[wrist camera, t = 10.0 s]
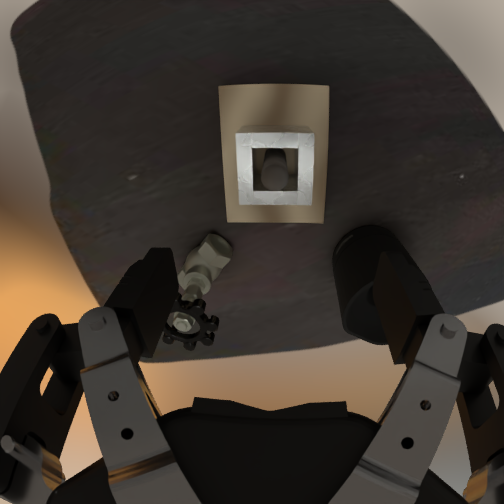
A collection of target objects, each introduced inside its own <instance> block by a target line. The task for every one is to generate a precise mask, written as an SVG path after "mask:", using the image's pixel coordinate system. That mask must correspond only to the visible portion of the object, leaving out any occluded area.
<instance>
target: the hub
mask: <svg viewBox="0 0 504 504" xmlns="http://www.w3.org/2000/svg"><path fill="white" fill-rule="evenodd" d="M256 148H295V159H294V174H288V175H289V180H288V183H287V185H286V186H285V187H284V188H283V189H282V190H279V191H271V190H269V189H267V188H266V187H265V186H264V185H263V183H262V181H261V174H257V160H256ZM236 154H237V173H238V192H239V205H312V191H313V167H314V133H313V131H312V130H311V129H310V128H309V127H308V126H297V125H250V126H242V127H241V128H240V129H239V130H238V131H237V132H236Z"/></svg>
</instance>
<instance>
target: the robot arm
mask: <svg viewBox="0 0 504 504" xmlns="http://www.w3.org/2000/svg"><path fill="white" fill-rule="evenodd" d="M178 289H179V283H178V277H177V272H176V267H175V262H174V257H173V252H172V250H171V248H151V249H150V250H149V251H148V253H147V254H146V256H145V257H144V259H143V260H138V261H137V262H136V263H134V264H133V265H132V266H130V267H129V269H128V270H127V272H126V273H125V274H124V277H122V279H121V280H120V282H119V284H118V285H117V286H116V288H115V289H114V291H113V292H112V294H111V295H110V297H109V298H108V300H107V302H106V303H105V305H104V306H103V307H97V308H93V309H91V310H89V311H88V312H86V313H85V314H84V315H83V316H82V317H81V319H80V320H79V323H72V324H65V325H62V324H61V322H60V320H59V318H58V317H57V316H56V315H55V314H50V313H49V314H44V315H41V316H39V317H37V318H36V319H35V320H34V321H33V322H32V323H31V324H30V325H29V327H28V328H27V330H26V332H25V333H24V335H23V336H22V338H21V339H20V341H19V342H18V344H17V346H16V347H15V349H14V351H13V352H12V354H11V355H10V357H9V359H8V361H7V362H6V364H5V366H4V367H3V369H2V371H1V373H0V498H2V499H4V500H6V501H8V502H10V503H12V504H504V326H503V325H500V324H492V325H490V326H489V327H488V328H487V330H486V332H485V333H484V335H483V334H478V333H472V332H467V330H466V327H465V325H464V324H463V323H462V322H461V321H460V320H459V319H458V318H456V317H454V316H452V315H449V314H445V312H444V310H443V308H442V307H441V305H440V303H439V301H438V299H437V298H436V296H435V294H434V292H433V291H432V290H431V287H430V285H429V284H428V283H427V280H426V279H425V277H424V275H423V274H422V272H421V271H419V270H418V269H417V268H416V267H415V266H413V265H409V264H408V262H407V260H406V259H405V257H404V255H403V254H402V253H401V252H382V253H381V255H380V258H379V263H378V267H377V271H376V275H375V280H374V284H373V300H374V303H375V306H376V308H377V311H378V314H379V317H380V320H381V323H382V326H383V329H384V333H385V336H386V339H387V342H388V345H389V349H390V352H391V355H392V359H393V362H394V364H395V365H396V364H406V367H407V369H406V371H405V372H404V374H403V376H402V378H401V380H400V382H399V384H398V386H397V388H396V390H395V392H394V393H393V395H392V397H391V399H390V401H389V402H388V404H387V406H386V408H385V410H384V411H383V413H382V414H381V416H380V418H379V419H378V421H377V422H375V421H373V420H371V419H369V418H368V417H365V416H363V415H360V414H356V413H353V412H348V411H347V405H346V401H342V402H321V403H307V404H303V405H298V406H293V407H289V408H284V409H279V410H275V411H266V410H262V409H259V408H255V407H251V406H247V405H244V404H241V403H237V402H234V401H231V400H219V399H209V398H199V397H194V401H193V405H192V407H187V408H183V409H178V410H175V411H172V412H169V413H167V414H164V415H162V414H161V412H160V410H159V408H158V406H157V404H156V402H155V400H154V398H153V396H152V393H151V391H150V389H149V387H148V385H147V382H146V380H145V378H144V375H143V373H142V371H141V368H140V366H139V364H138V362H139V360H140V357H141V356H142V357H148V358H152V357H153V354H154V352H155V349H156V346H157V344H158V341H159V339H160V336H161V334H162V331H163V329H164V326H165V324H166V322H167V319H168V317H169V314H170V312H171V309H172V307H173V305H174V302H175V300H176V298H177V295H178ZM48 367H50V369H51V370H52V371H53V374H52V376H51V378H50V381H49V382H48V385H47V387H46V389H45V391H44V393H43V395H42V396H41V393H40V384H41V381H42V379H43V377H44V375H45V373H46V371H47V369H48ZM492 381H494V384H495V387H496V389H497V392H498V395H499V406H498V409H496V406H495V404H494V400H493V397H492V394H491V392H490V389H489V386H488V385H489V384H490V383H491V382H492ZM83 392H84V393H85V397H86V402H87V406H88V409H89V413H90V417H91V420H92V424H93V428H94V431H95V434H96V437H97V441H98V443H99V447H100V450H101V453H102V455H103V457H102V458H101V459H99V460H98V461H96V462H95V463H93V464H92V465H90V466H88V467H87V468H85V469H84V470H82V471H81V472H79V473H78V474H76V475H74V476H73V477H71V478H70V479H68V480H66V481H65V475H64V473H63V472H62V466H61V463H60V461H59V459H60V456H61V452H62V449H63V446H64V443H65V440H66V438H67V435H68V432H69V429H70V426H71V424H72V421H73V418H74V415H75V413H76V410H77V407H78V405H79V402H80V400H81V397H82V395H83ZM455 401H456V402H457V406H458V410H459V413H460V417H461V422H462V425H463V430H464V435H465V439H466V444H467V449H468V454H469V460H470V466H471V472H472V475H471V476H470V478H469V480H468V483H467V487H466V488H465V489H464V491H463V497H462V496H461V495H460V494H458V493H457V492H456V491H455V490H453V489H452V488H451V487H450V486H449V485H448V484H446V483H445V482H444V481H443V480H442V479H441V478H439V477H438V476H437V475H436V474H435V473H434V472H432V471H431V470H430V469H429V466H430V464H431V462H432V459H433V457H434V455H435V453H436V451H437V448H438V446H439V444H440V441H441V439H442V436H443V434H444V431H445V429H446V426H447V424H448V421H449V418H450V415H451V412H452V410H453V407H454V404H455Z"/></svg>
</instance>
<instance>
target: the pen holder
mask: <svg viewBox="0 0 504 504" xmlns="http://www.w3.org/2000/svg"><path fill="white" fill-rule="evenodd" d="M382 252H401V253H402V254H403V255H404V257H405V259H406V260H407V262H408V264H409V265H413V266H415V267H416V268H417V269H418V270H419V271H421V270H420V269H419V267H418V266H417V264H416V263H415V262H414V260H413V259H412V257H411V256H410V255H409V253H408V252H407V251H406V249H405V248H404V247H403V245H402V244H401V243H400V242H399V240H398V239H397V238H396V237H395V236H394V235H393V234H392V233H391V232H390V231H388V230H387V229H385V228H382V227H378V226H365V227H361V228H358V229H356V230H354V231H352V232H350V233H349V234H347V235H346V236H345V237H344V238H343V239H342V240H341V241H340V242H339V244H338V245H337V247H336V249H335V251H334V254H333V261H332V263H333V272H334V278H335V284H336V289H337V295H338V300H339V306H340V312H341V318H342V324H343V328H344V330H345V331H346V332H347V333H349V334H351V335H353V336H356V337H358V338H360V339H362V340H364V341H367V342H369V343H372V344H376V345H388V342H387V339H386V336H385V333H384V329H383V326H382V323H381V320H380V317H379V314H378V311H377V308H376V306H375V303H374V300H373V284H374V280H375V275H376V271H377V267H378V263H379V258H380V255H381V253H382ZM421 272H422V271H421ZM422 274H423V273H422ZM423 275H424V274H423ZM424 277H425V276H424ZM425 279H426V277H425ZM426 280H427V279H426ZM427 283H428V284H429V282H428V280H427ZM429 285H430V284H429ZM430 287H431V286H430ZM431 290H432V288H431Z"/></svg>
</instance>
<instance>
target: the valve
mask: <svg viewBox="0 0 504 504" xmlns="http://www.w3.org/2000/svg"><path fill="white" fill-rule="evenodd" d="M232 255H233V249H232V248H231V246H230V245H229V243H228V242H227V241H226V240H225V239H223V238H222V237H220V236H219V235H216V234H210V233H209V234H208V235H207V237H206V238H205V239H204V240H203V241H202V243H201V245H200V246H198V247H196V248H194V249H193V250H192V251H191V252H190V253H189V254H188V256H187V258H186V261H185V264H184V265H183V266H182V267H181V269H180V270H179V272H178V274H177V277H178V282H179V284H180V285H181V287H182V288H183V289H184V290H185V291H184V293H183V296H182V295H181V294H180V293H179V292H178V295H177V298H176V300H175V302H174V305H173V307H172V309H171V312H170V313H172V312H175V314H174V320H173V325H172V328H171V327H170V326H169V325H168V323H167V322H166V324H165V326H164V329H163V331H164V332H165V333H164V336H163V338H162V340H163V342H165V343H166V344H173V343H174V340H178V341H181V342H183V343H184V348H185V349H186V350H189V351H192V350H194V349H195V346H196V343H197V341H201V342H202V344H204V345H206V346H210V345H212V344H213V342H214V337H215V334H214V333H213V331H216V330H217V329H218V325H219V318H218V317H216V316H214V315H212V316H211V319H208V317H207V315H206V314H205V313H204V311H205V307H206V302H205V301H204V300H202V299H201V298H202V295H203V294H205V293H207V292H208V291H209V290H210V288H211V284H212V281H213V280H215V279H216V278H217V277H218V276H219V274H220V273H221V270H222V268H223V267H224V266H225V265H226V264H227V263H228V262H229V261H230V260H231V258H232ZM195 320H196V321H197V322H198V323H199V325H200V330H199V331H198V332H196V333H194V334H182V333H179V332H177V330H180V331H188V330H190V329H191V327H192V325H193V324H194V323H195ZM207 330H208V331H212V332H211V333H210V334H207V333H206V331H207Z"/></svg>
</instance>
